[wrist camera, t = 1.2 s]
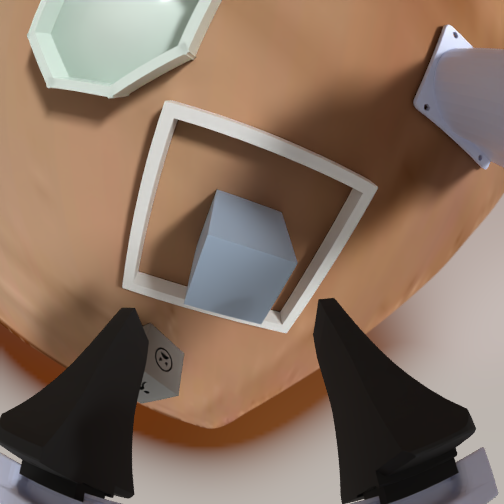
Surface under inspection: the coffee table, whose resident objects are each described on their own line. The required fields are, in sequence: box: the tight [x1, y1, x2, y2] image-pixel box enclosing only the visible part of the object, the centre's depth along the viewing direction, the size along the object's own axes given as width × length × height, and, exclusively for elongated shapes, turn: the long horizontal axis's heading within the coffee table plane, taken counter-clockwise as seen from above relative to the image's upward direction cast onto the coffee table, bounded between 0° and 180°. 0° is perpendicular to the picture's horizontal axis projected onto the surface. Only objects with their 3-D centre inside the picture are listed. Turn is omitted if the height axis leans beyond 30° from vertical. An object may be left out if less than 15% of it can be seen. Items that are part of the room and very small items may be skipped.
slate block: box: [184, 189, 297, 324], centre depth 17 cm, size 4×4×6 cm
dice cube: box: [137, 323, 184, 403], centre depth 24 cm, size 5×5×5 cm
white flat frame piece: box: [122, 100, 378, 333], centre depth 19 cm, size 14×14×2 cm
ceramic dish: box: [27, 0, 222, 99], centre depth 10 cm, size 11×11×2 cm
